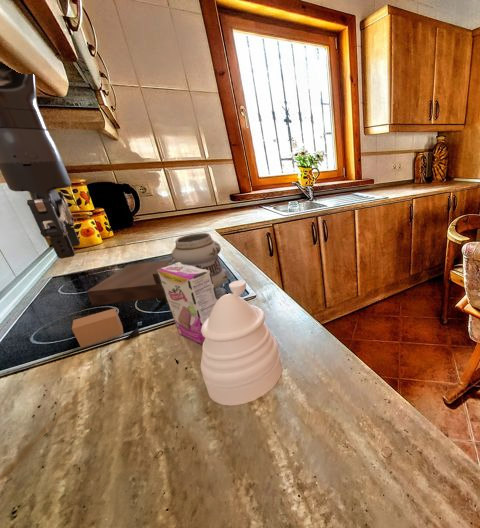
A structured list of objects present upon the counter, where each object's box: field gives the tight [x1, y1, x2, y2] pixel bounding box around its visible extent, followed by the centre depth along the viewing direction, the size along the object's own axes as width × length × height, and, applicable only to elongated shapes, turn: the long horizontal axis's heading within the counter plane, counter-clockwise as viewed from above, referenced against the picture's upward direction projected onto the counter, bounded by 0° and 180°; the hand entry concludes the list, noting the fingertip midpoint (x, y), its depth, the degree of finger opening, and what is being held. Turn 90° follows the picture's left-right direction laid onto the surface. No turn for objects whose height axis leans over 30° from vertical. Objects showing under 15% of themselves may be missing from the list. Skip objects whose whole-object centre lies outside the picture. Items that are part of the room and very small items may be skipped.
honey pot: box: [199, 279, 283, 406], centre depth 47 cm, size 13×13×18 cm
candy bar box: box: [157, 262, 218, 346], centre depth 59 cm, size 11×5×16 cm, turn 61°
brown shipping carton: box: [71, 307, 141, 349], centre depth 61 cm, size 10×5×6 cm, turn 130°
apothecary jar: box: [171, 232, 229, 300], centre depth 77 cm, size 12×12×18 cm
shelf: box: [86, 257, 178, 306], centre depth 83 cm, size 18×20×9 cm
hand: (70, 251), depth 52 cm, fingers open, 8 cm apart
